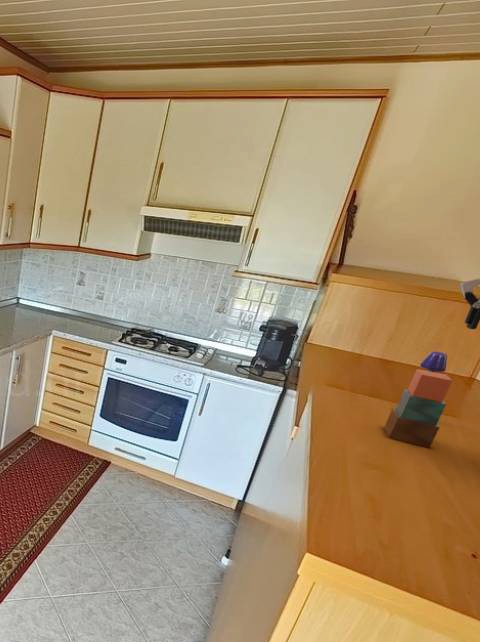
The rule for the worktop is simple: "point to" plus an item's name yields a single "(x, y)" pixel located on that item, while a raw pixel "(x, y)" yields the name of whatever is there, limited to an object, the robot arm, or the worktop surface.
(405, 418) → the block stack
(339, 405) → the worktop surface
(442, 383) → the toy cube
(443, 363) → the toy lamp
